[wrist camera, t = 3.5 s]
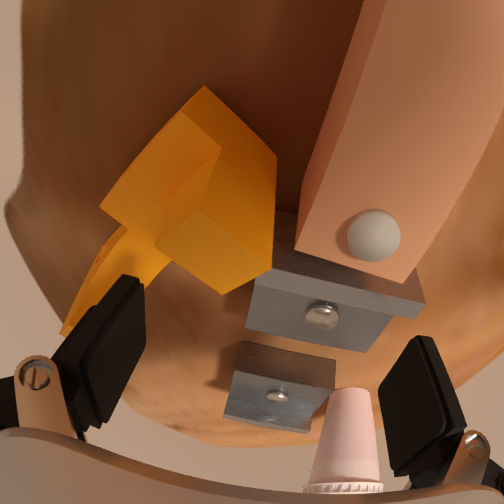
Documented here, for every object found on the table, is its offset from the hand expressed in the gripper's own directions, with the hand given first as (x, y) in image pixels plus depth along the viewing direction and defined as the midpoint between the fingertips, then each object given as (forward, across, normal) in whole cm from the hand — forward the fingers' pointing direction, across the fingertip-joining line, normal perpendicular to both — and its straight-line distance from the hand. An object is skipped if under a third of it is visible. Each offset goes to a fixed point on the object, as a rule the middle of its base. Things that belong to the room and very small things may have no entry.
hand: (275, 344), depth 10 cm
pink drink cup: (+10, -10, +14) cm, 19 cm away
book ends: (+8, -3, +6) cm, 10 cm away
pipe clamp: (+7, +7, -2) cm, 10 cm away
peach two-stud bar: (+5, -2, -10) cm, 11 cm away
